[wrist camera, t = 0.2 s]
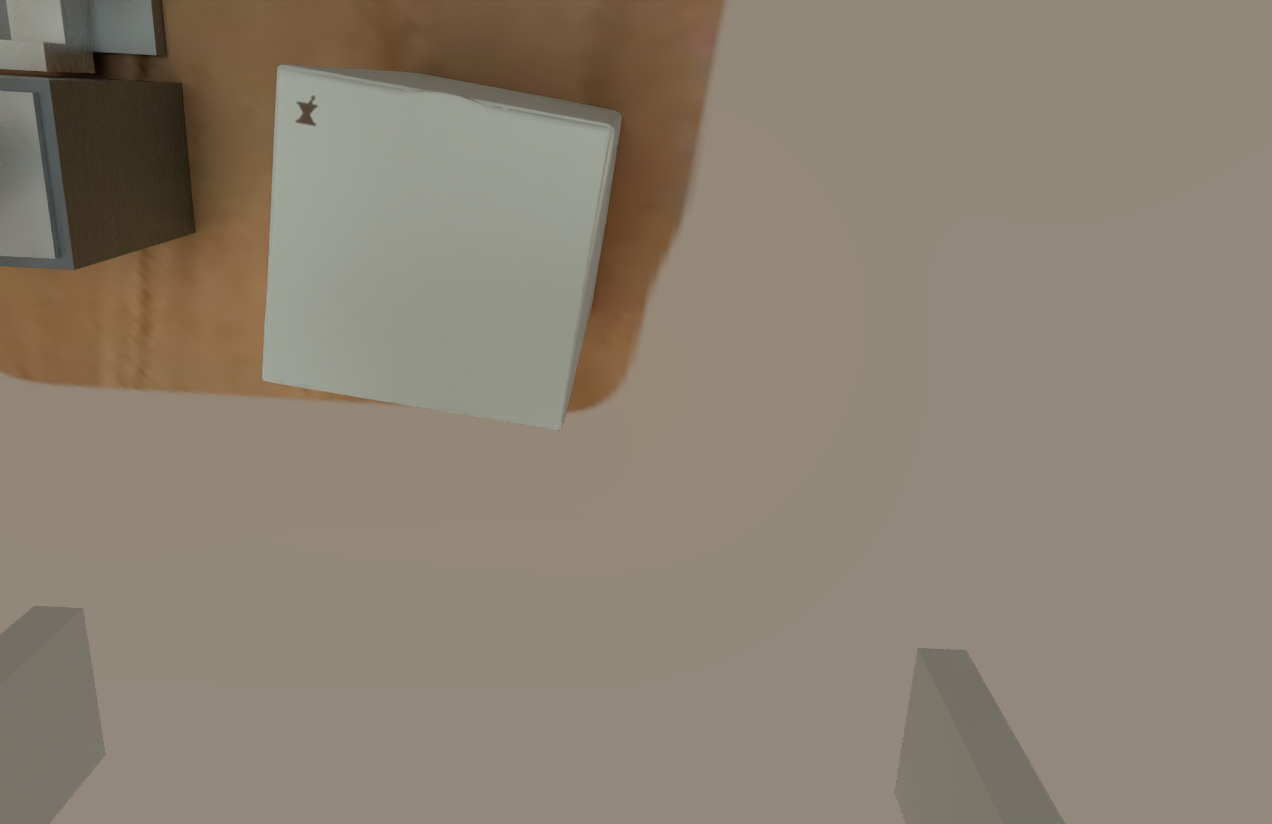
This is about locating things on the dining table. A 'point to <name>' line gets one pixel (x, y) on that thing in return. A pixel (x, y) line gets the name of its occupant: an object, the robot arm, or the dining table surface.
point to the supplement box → (434, 240)
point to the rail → (118, 26)
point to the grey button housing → (90, 169)
